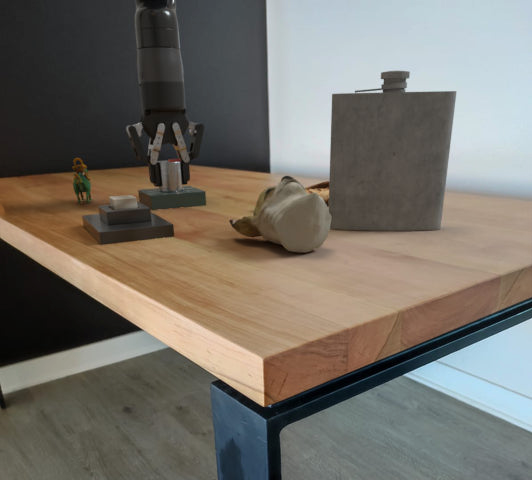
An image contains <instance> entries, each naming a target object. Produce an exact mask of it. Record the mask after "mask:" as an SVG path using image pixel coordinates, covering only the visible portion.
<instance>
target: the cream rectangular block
mask: <svg viewBox="0 0 532 480" xmlns="http://www.w3.org/2000/svg"><path fill="white" fill-rule="evenodd" d="M108 199H109V205H110V208H111V209H112V210H119V209H130V208H138V206H137V202H138V199H137V197H136V196H134V195H132V194H126V195H115V196H114V195H112V196H108Z"/></svg>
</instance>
